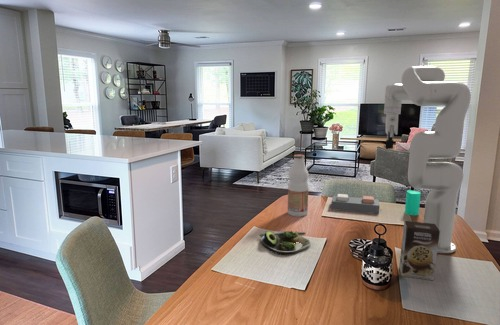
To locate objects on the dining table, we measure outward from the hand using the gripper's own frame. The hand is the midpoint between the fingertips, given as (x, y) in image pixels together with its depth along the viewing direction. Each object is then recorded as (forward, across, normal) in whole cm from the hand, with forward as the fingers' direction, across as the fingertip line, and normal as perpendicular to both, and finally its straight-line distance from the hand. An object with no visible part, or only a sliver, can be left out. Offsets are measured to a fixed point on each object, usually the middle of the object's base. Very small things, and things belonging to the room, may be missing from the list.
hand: (389, 148), depth 165 cm
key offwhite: (+27, -11, +21) cm, 35 cm away
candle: (+29, -10, -11) cm, 33 cm away
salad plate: (+30, -62, +39) cm, 79 cm away
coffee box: (+29, -70, -5) cm, 76 cm away
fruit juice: (+29, -27, +40) cm, 57 cm away
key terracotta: (+27, -11, +8) cm, 30 cm away
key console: (+29, -11, +14) cm, 34 cm away
